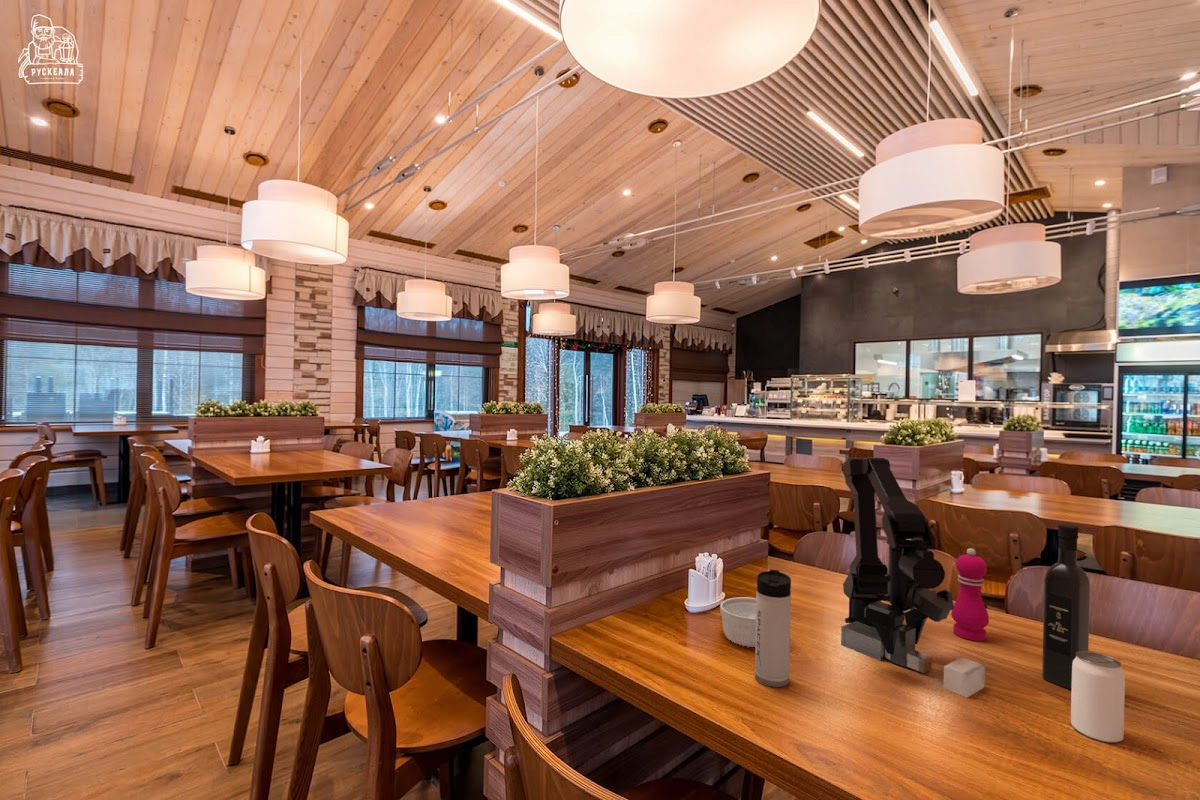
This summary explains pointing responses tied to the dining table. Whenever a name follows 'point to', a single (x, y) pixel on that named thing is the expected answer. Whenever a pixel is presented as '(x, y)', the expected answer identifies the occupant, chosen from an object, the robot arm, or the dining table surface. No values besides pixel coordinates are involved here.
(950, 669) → the grey rectangular block
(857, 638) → the sleeve
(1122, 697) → the can
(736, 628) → the ramekin
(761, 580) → the travel mug
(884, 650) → the grey l-shaped block
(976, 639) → the pepper mill
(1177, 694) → the dining table surface
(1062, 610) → the wine bottle
